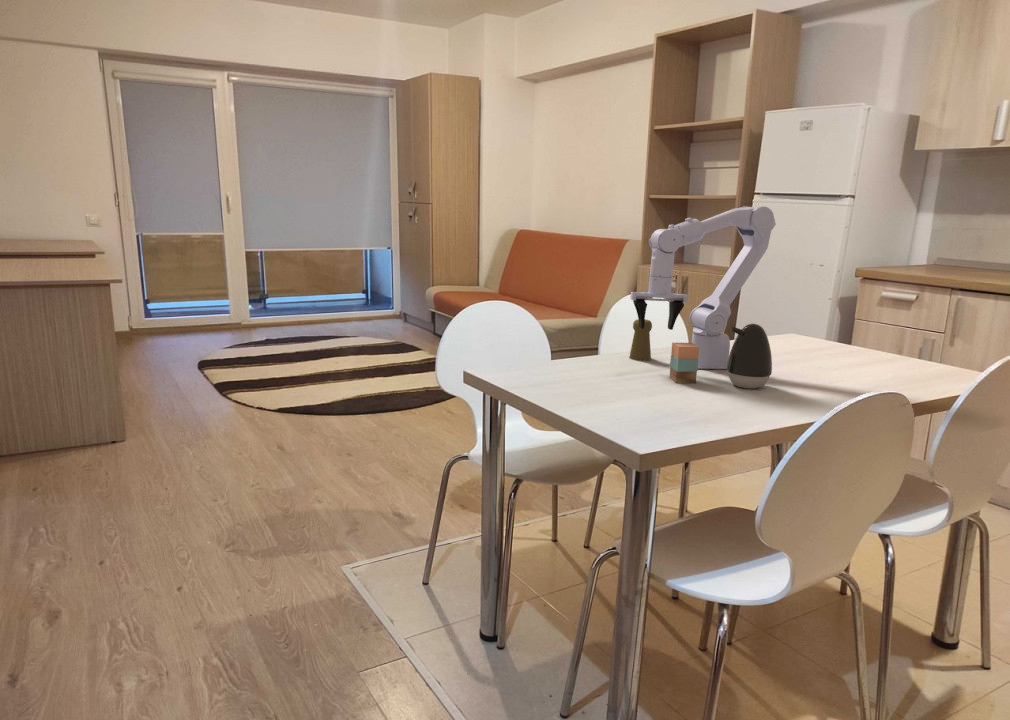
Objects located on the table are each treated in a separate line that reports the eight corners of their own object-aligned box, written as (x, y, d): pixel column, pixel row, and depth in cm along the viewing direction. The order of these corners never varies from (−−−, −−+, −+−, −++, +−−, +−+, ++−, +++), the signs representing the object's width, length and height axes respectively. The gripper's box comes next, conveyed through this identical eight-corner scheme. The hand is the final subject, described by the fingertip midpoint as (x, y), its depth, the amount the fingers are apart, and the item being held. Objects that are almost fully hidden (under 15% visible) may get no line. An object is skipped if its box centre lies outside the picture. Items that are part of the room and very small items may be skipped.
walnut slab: (689, 378, 173) (690, 366, 172) (695, 383, 168) (696, 371, 167) (669, 378, 172) (670, 366, 172) (675, 383, 168) (676, 371, 167)
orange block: (690, 354, 172) (692, 342, 171) (698, 359, 167) (699, 346, 166) (671, 354, 171) (672, 342, 171) (677, 358, 166) (678, 346, 166)
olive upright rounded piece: (652, 361, 191) (655, 321, 189) (630, 360, 191) (633, 320, 189) (648, 356, 197) (651, 318, 195) (627, 355, 197) (630, 317, 195)
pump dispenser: (717, 381, 171) (723, 320, 167) (757, 380, 172) (763, 320, 169) (735, 391, 161) (742, 327, 157) (777, 391, 162) (785, 327, 159)
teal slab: (689, 366, 172) (690, 354, 171) (697, 371, 167) (698, 359, 167) (670, 366, 171) (671, 354, 171) (677, 371, 167) (678, 359, 166)
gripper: (637, 276, 174) (632, 330, 177) (693, 279, 175) (688, 332, 178) (630, 274, 181) (625, 325, 183) (684, 276, 182) (679, 327, 185)
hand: (655, 328), depth 181 cm, fingers open, 7 cm apart
